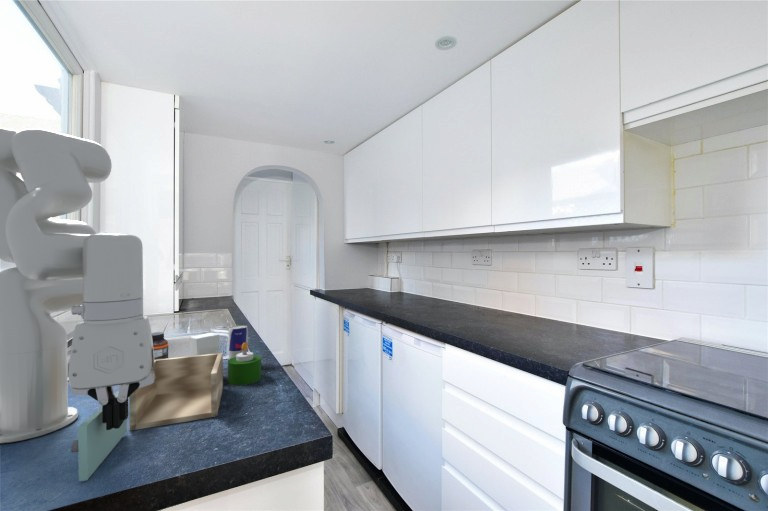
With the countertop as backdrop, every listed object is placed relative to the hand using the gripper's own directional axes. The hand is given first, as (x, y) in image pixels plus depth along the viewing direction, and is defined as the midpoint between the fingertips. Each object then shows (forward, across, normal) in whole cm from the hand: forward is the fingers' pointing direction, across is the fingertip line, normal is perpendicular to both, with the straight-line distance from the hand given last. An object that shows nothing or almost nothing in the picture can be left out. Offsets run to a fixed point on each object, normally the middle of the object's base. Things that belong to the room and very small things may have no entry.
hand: (115, 425), depth 54 cm
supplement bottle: (+6, -3, +49) cm, 50 cm away
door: (+6, -3, +3) cm, 7 cm away
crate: (+6, +7, +20) cm, 22 cm away
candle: (+6, +20, +32) cm, 38 cm away
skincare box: (+6, +10, +36) cm, 38 cm away
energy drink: (+6, +18, +44) cm, 48 cm away
